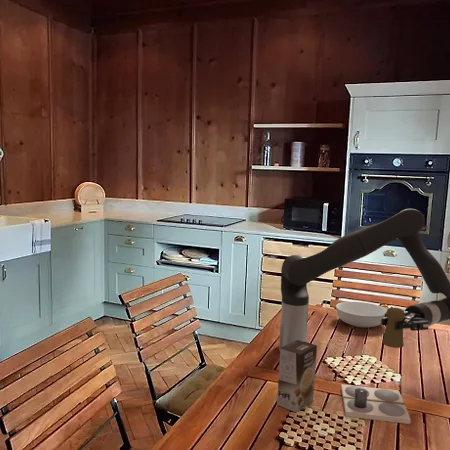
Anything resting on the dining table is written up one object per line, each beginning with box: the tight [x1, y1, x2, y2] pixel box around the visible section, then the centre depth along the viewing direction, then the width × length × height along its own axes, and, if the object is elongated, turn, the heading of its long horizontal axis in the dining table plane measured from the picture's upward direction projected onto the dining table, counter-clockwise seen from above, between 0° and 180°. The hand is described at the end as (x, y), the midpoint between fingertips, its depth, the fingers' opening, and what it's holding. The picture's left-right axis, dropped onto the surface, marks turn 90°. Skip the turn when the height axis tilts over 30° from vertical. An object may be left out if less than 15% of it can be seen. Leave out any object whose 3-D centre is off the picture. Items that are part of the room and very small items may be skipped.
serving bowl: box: [335, 301, 388, 329], centre depth 197 cm, size 21×21×7 cm
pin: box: [354, 388, 368, 409], centre depth 126 cm, size 3×3×4 cm
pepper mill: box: [382, 307, 405, 349], centre depth 142 cm, size 6×6×11 cm
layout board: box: [340, 383, 412, 425], centre depth 129 cm, size 16×16×1 cm
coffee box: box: [276, 340, 318, 413], centre depth 128 cm, size 9×6×16 cm
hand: (389, 324), depth 140 cm, fingers closed on pepper mill, 4 cm apart
